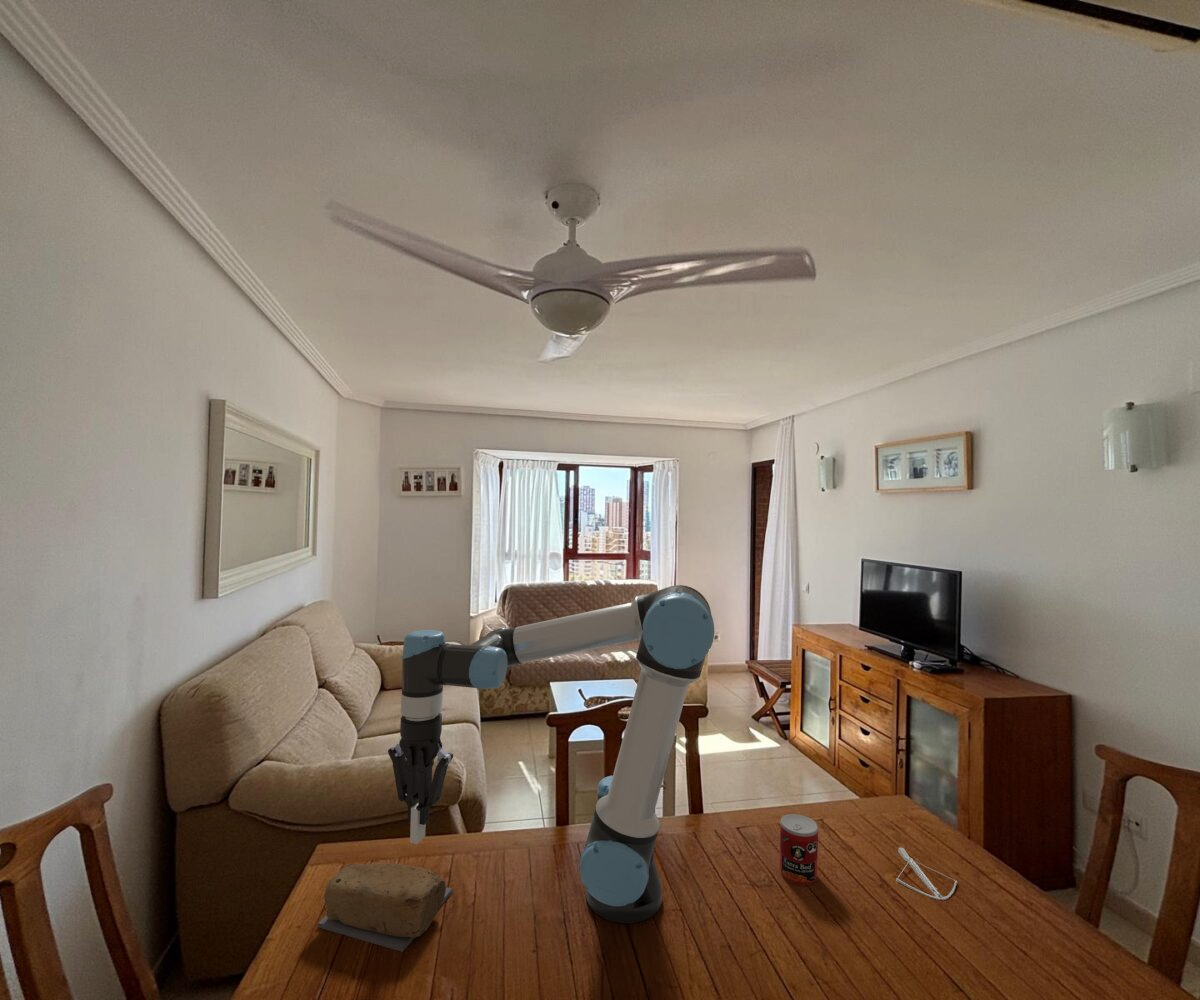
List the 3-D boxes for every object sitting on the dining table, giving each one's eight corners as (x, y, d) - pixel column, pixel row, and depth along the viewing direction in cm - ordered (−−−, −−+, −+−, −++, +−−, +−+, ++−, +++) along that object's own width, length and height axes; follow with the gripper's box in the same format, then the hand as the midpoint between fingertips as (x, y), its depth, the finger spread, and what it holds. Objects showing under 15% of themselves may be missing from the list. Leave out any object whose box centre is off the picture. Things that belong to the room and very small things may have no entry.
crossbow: (972, 907, 115) (972, 897, 115) (909, 905, 116) (910, 895, 116) (927, 854, 131) (928, 845, 131) (873, 852, 132) (873, 843, 131)
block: (418, 903, 98) (319, 884, 103) (418, 947, 98) (319, 926, 103) (449, 865, 109) (358, 850, 114) (448, 904, 109) (357, 887, 113)
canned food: (778, 880, 120) (779, 828, 120) (781, 859, 127) (782, 810, 128) (816, 890, 117) (817, 837, 117) (817, 868, 125) (818, 818, 125)
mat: (452, 892, 114) (452, 888, 114) (402, 951, 98) (402, 947, 98) (376, 873, 119) (376, 870, 119) (318, 927, 103) (318, 922, 103)
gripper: (462, 711, 109) (458, 835, 109) (404, 703, 113) (400, 822, 113) (440, 725, 102) (436, 858, 102) (379, 716, 106) (375, 843, 105)
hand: (417, 839), depth 107 cm, fingers closed
